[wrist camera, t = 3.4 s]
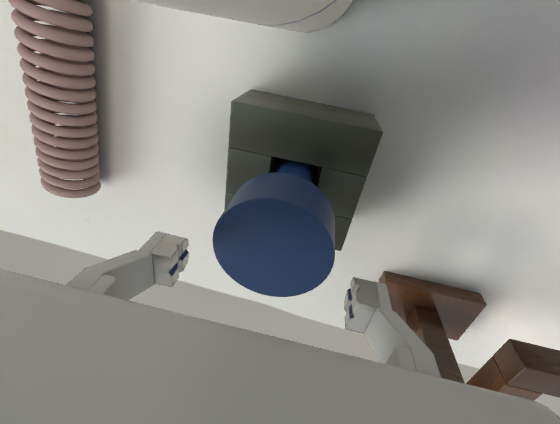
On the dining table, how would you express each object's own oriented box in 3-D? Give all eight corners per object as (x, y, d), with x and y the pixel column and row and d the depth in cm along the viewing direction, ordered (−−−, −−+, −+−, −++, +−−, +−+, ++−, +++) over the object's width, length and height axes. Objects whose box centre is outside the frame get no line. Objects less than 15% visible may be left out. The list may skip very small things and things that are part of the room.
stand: (417, 200, 25) (512, 388, 12) (533, 225, 25) (773, 453, 11) (365, 308, 33) (386, 496, 20) (452, 329, 33) (537, 538, 19)
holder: (250, 89, 23) (231, 100, 19) (374, 114, 22) (383, 131, 18) (240, 196, 28) (223, 224, 24) (340, 219, 28) (340, 251, 24)
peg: (270, 118, 24) (214, 185, 13) (343, 133, 24) (350, 215, 13) (261, 183, 27) (210, 282, 16) (325, 197, 27) (318, 308, 16)
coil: (82, 208, 27) (59, -36, 17) (29, 194, 26) (-26, -66, 16) (110, 185, 30) (104, -24, 21) (64, 172, 30) (37, -48, 20)
